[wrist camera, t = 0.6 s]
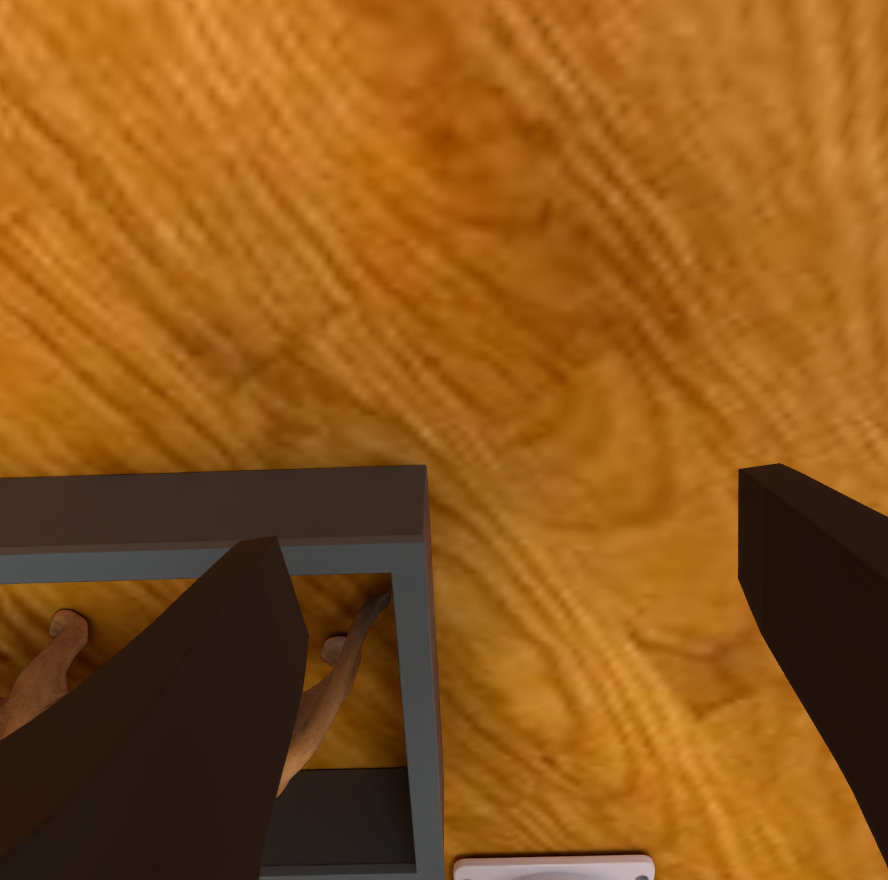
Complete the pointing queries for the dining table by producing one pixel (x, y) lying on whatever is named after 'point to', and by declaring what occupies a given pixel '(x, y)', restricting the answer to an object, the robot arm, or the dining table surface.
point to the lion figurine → (316, 709)
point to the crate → (305, 553)
